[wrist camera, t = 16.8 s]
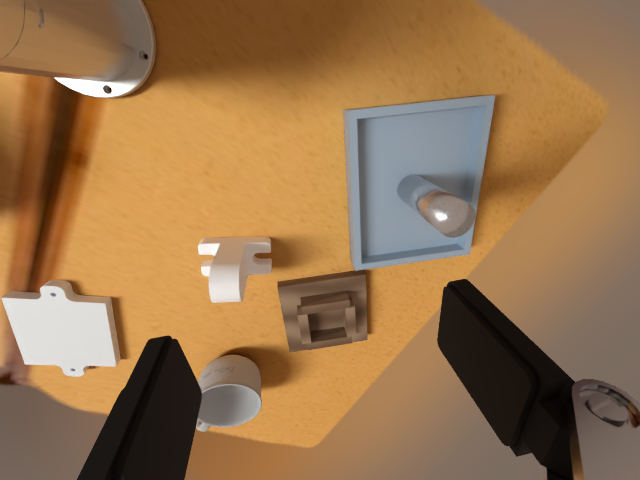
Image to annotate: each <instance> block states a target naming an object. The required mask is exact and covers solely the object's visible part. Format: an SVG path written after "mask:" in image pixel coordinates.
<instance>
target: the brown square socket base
mask: <svg viewBox="0 0 640 480" xmlns="http://www.w3.org/2000/svg"><path fill="white" fill-rule="evenodd" d="M278 293H279V298H280V303H281V308H282V313H283V319H284V324H285V329H286V334H287V340H288V345H289V350H290V352H295V351H301V350H307V349H308V350H312V349H318V348H324V347H330V346H336V345H343V344H349V343H352V342H357V341H363V340H367V300H366V274H365V272H364V270H357V271H350V272H343V273H336V274H330V275H323V276H316V277H309V278H302V279H295V280H288V281H281V282H278Z"/></svg>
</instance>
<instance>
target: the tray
mask: <svg viewBox="0 0 640 480" xmlns="http://www.w3.org/2000/svg"><path fill="white" fill-rule="evenodd" d="M494 101H495V95H479V96H470V97H460V98H451V99H441V100H432V101H422V102H413V103H403V104H394V105H384V106H375V107H365V108H356V109H346V110H343V113H344V133H345V153H346V173H347V193H348V213H349V233H350V253H351V262H352V264H353V267H354V269H355V271H357V270H364V269H371V268H378V267H385V266H392V265H398V264H405V263H412V262H419V261H426V260H433V259H440V258H447V257H454V256H461V255H468V254H470V249H471V243H472V237H473V231H474V225H475V221H474V224H473V226H472V227H471V228H470V230H469V231H468V232H466V233H465V234H463V235H462V236H459V237H455V238H449V237H446V236H444V235H443V234H442V233H440V232H439V231H438V230H437V229H436V228H434V227H433V226H432V225H431V224H430V223H428V222H427V221H426V220H425V219H424V218H422V217H421V216H420V215H419V214H418V213H416V212H415V211H414V210H413V209H412V208H410V207H409V206H408V205H407V204H406V203H405V202H403V201H402V200H401V199H400V198H399V196H398V194H397V188H398V185H399V183H400V181H401V180H402V179H403V178H404V177H406V176H408V175H413V174H414V175H418V176H420V177H422V178H424V179H425V180H427V181H429V182H431V183H433V184H435V185H436V186H438V187H440V188H442V189H444V190H445V191H447V192H449V193H451V194H453V195H454V196H456V197H458V198H460V199H462V200H463V201H465V202H467V203H469V204H471V205H472V206H473V208H474V209H475V213H476V212H477V206H478V200H479V194H480V188H481V182H482V175H483V169H484V163H485V157H486V151H487V145H488V138H489V132H490V126H491V120H492V114H493V108H494ZM475 219H476V218H475Z"/></svg>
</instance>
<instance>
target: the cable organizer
mask: <svg viewBox="0 0 640 480" xmlns="http://www.w3.org/2000/svg"><path fill="white" fill-rule="evenodd" d="M198 252H199V254H211V255H213V256H215V257H214V259H213V260H204V261H203V263H202V265H201V271H202V274H203V275H204V276H209V294H210V298H211V301H212V302H213V303H217V302H242V301H243V298H244V293H245V287H246V282H247V277H248V275H257V274H270V273H271V270H272V258H267V259H259V258H257V257H255V256H254V255H255V254H256V253H271V239H270V238H269V237H221V238H203V239H202V240H201V242H200V244H199V245H198Z"/></svg>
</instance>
